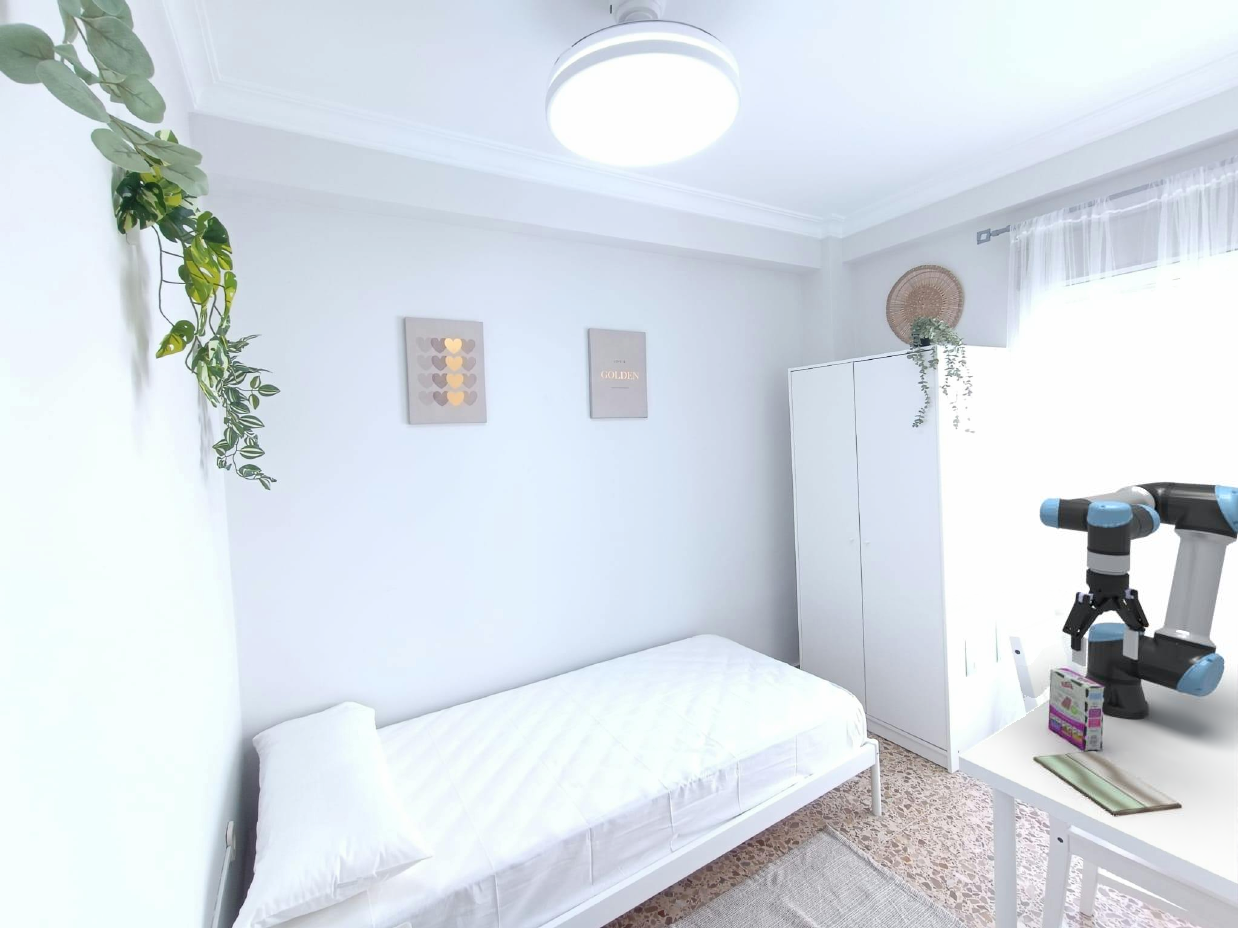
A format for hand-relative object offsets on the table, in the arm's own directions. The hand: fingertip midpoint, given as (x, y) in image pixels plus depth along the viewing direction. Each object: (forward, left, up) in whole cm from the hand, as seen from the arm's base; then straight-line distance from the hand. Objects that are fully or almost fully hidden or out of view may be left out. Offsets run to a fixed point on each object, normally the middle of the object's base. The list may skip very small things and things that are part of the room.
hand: (1104, 660), depth 133 cm
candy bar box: (-5, -11, -26) cm, 29 cm away
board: (+4, +5, -26) cm, 27 cm away
